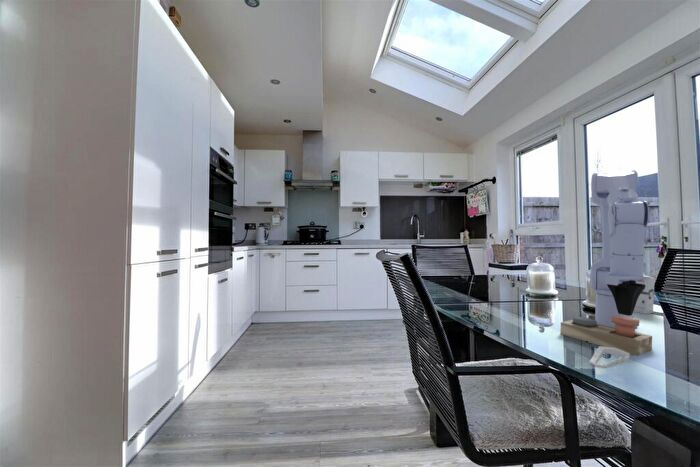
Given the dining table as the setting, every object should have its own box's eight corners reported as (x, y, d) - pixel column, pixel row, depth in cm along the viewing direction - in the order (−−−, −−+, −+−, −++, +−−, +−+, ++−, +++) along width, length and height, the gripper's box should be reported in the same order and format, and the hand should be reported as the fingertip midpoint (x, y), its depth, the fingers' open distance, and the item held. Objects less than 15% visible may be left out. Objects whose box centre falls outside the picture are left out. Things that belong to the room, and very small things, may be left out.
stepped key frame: (621, 379, 57) (622, 370, 57) (588, 370, 61) (588, 361, 61) (630, 356, 66) (631, 348, 66) (601, 349, 70) (601, 342, 69)
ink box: (614, 308, 107) (615, 274, 107) (622, 306, 110) (622, 273, 109) (647, 314, 100) (648, 278, 100) (654, 312, 102) (655, 277, 102)
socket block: (576, 329, 82) (577, 318, 82) (651, 349, 69) (652, 336, 69) (560, 334, 79) (560, 322, 79) (636, 355, 65) (636, 341, 65)
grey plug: (578, 330, 81) (578, 316, 81) (600, 335, 77) (600, 320, 76) (568, 332, 78) (568, 318, 78) (590, 338, 74) (590, 323, 74)
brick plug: (616, 330, 74) (616, 314, 74) (642, 336, 69) (643, 320, 69) (606, 333, 71) (607, 317, 71) (633, 339, 67) (633, 322, 67)
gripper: (635, 257, 63) (633, 323, 63) (663, 255, 70) (661, 315, 70) (594, 254, 69) (593, 314, 70) (624, 253, 76) (622, 307, 76)
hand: (625, 314), depth 70 cm, fingers closed
